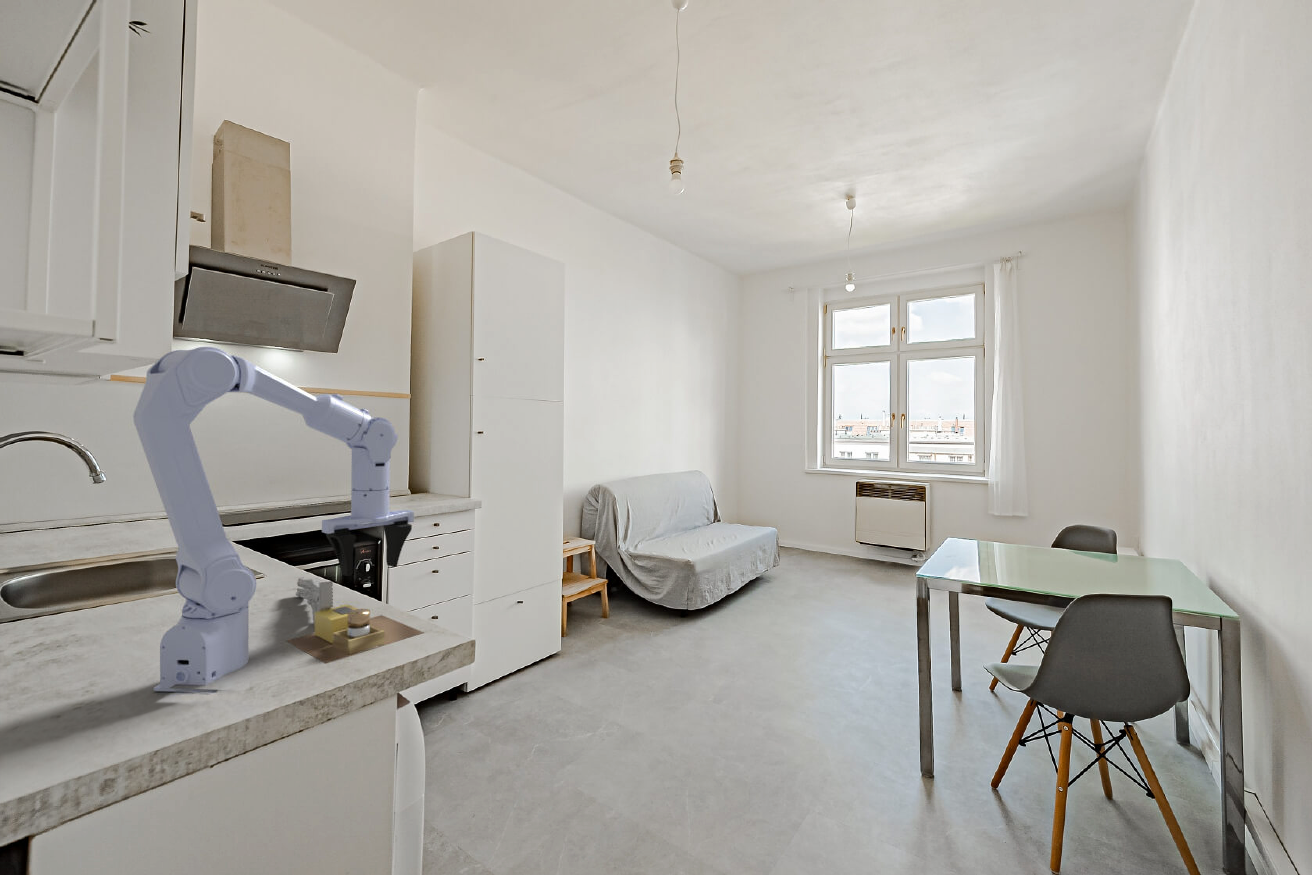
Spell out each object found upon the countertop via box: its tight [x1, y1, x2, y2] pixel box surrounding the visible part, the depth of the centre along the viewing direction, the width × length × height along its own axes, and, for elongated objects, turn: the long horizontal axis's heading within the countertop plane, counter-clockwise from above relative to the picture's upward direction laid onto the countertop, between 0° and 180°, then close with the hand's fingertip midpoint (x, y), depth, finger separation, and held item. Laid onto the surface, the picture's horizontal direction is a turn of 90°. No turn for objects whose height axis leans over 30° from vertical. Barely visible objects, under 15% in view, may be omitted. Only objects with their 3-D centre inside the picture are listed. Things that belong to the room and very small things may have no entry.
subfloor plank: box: [285, 614, 425, 664], centre depth 90 cm, size 15×13×3 cm
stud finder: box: [314, 604, 358, 643], centre depth 90 cm, size 5×6×4 cm
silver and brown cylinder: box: [347, 608, 371, 639], centre depth 87 cm, size 3×3×5 cm
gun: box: [295, 577, 334, 626], centre depth 102 cm, size 2×30×8 cm, turn 38°
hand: (370, 570), depth 96 cm, fingers open, 7 cm apart
